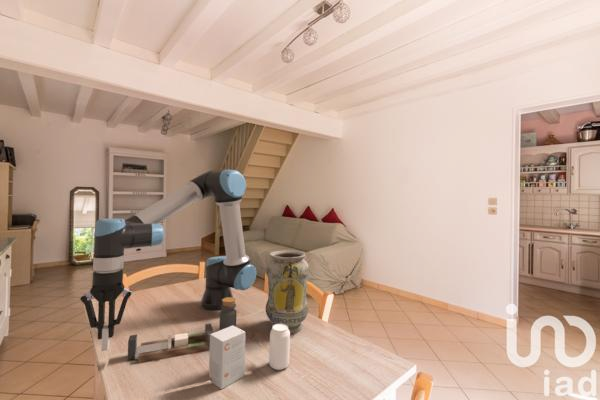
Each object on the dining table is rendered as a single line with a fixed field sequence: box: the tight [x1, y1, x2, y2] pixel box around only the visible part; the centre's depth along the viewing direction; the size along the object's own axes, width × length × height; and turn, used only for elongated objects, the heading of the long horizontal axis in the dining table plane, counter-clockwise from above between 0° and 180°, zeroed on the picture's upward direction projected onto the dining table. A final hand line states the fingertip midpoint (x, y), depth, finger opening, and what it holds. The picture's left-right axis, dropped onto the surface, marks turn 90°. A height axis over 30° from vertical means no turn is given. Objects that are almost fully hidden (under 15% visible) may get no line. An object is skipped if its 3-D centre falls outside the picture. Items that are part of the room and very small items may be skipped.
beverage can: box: [268, 324, 291, 371], centre depth 86 cm, size 6×6×12 cm
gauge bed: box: [137, 323, 215, 365], centre depth 92 cm, size 22×9×6 cm, turn 115°
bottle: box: [218, 297, 238, 331], centre depth 100 cm, size 6×6×15 cm
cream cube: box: [174, 332, 189, 348], centre depth 92 cm, size 4×4×4 cm
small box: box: [208, 325, 246, 390], centre depth 79 cm, size 8×6×13 cm
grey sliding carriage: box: [127, 334, 172, 361], centre depth 87 cm, size 12×7×6 cm, turn 115°
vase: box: [265, 249, 310, 335], centre depth 113 cm, size 18×18×30 cm
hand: (105, 348), depth 83 cm, fingers closed
